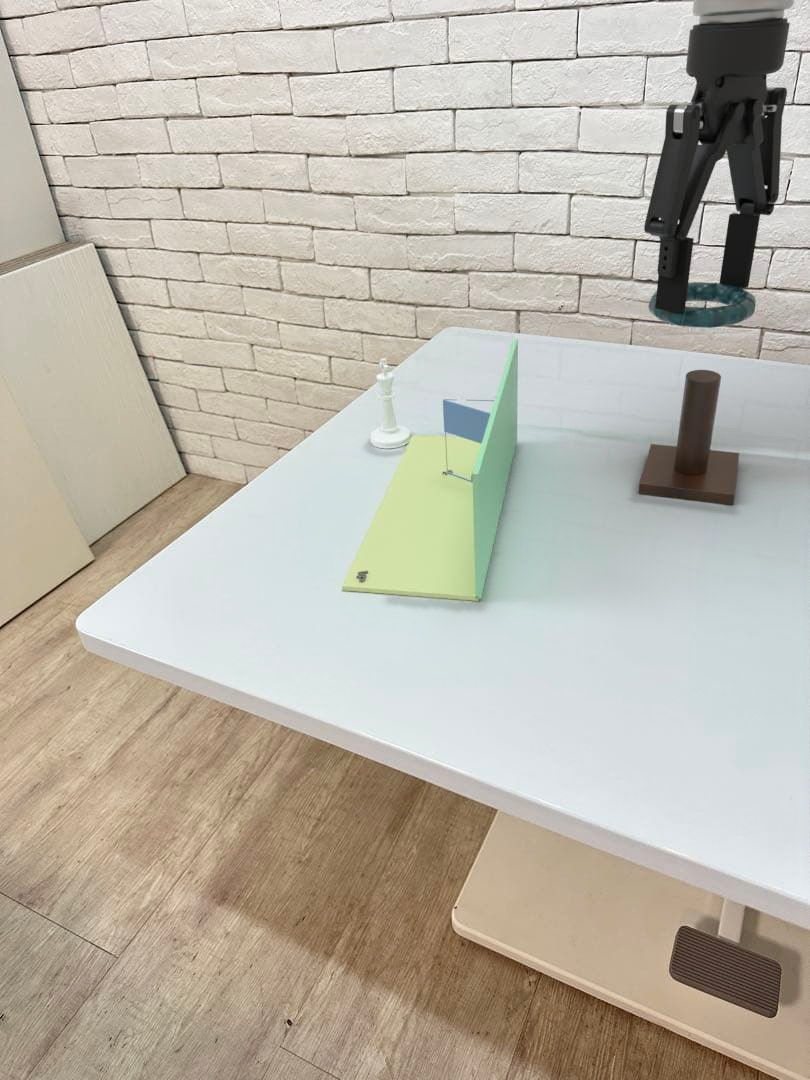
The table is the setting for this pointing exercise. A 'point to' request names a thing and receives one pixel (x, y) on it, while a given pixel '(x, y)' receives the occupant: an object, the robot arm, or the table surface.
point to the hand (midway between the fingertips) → (702, 297)
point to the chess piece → (388, 415)
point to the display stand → (444, 504)
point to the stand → (693, 451)
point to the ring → (735, 312)
